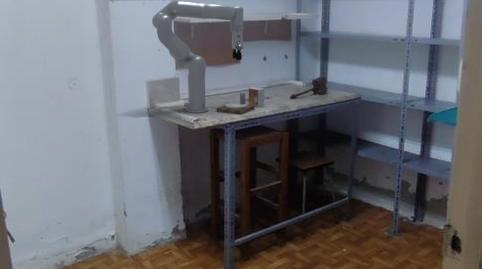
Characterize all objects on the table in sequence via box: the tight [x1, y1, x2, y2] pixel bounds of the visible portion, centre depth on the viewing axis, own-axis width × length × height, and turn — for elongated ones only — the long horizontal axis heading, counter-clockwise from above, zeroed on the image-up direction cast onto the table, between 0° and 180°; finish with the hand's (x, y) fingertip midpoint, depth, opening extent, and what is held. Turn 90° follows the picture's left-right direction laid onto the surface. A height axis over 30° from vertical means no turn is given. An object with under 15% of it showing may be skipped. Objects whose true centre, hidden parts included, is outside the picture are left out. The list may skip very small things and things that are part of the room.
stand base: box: [216, 104, 256, 115], centre depth 284 cm, size 16×16×2 cm
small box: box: [248, 87, 265, 108], centre depth 296 cm, size 8×6×10 cm
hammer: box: [289, 76, 329, 100], centre depth 327 cm, size 7×33×10 cm, turn 131°
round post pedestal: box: [224, 92, 247, 109], centre depth 282 cm, size 12×12×8 cm
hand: (237, 59), depth 286 cm, fingers open, 9 cm apart
